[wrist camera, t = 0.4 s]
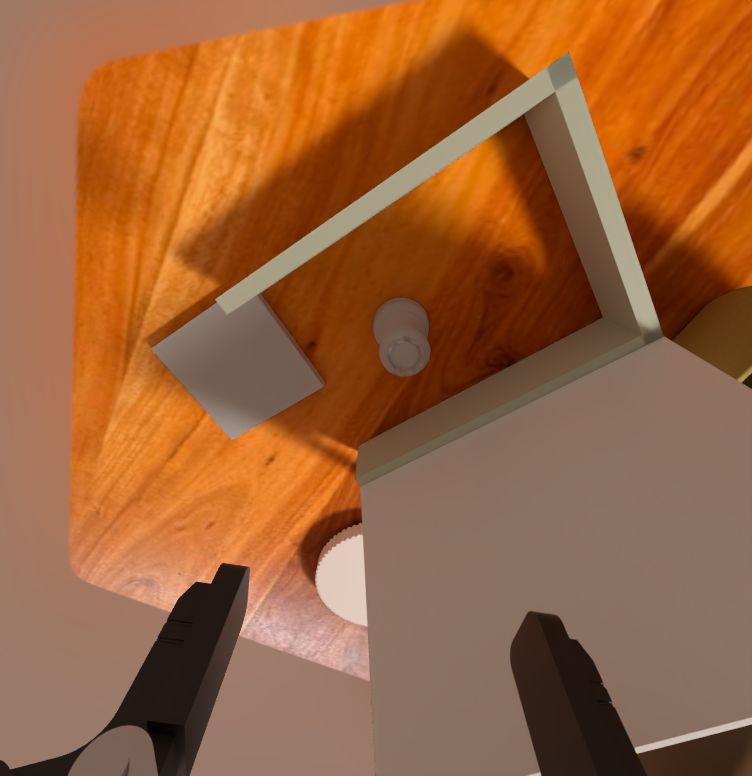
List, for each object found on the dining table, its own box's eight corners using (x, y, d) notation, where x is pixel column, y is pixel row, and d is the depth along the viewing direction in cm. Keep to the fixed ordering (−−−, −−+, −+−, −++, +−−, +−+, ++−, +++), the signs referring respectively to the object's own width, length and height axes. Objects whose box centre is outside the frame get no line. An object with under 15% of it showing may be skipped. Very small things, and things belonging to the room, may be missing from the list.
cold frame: (533, 83, 24) (661, -31, 13) (645, 385, 33) (783, 475, 21) (241, 286, 30) (155, 328, 19) (400, 500, 38) (407, 620, 27)
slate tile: (250, 279, 30) (246, 281, 29) (325, 382, 33) (323, 386, 32) (157, 344, 32) (150, 348, 31) (235, 434, 35) (231, 440, 34)
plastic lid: (321, 507, 39) (317, 525, 37) (458, 519, 39) (463, 538, 37) (316, 601, 45) (313, 622, 42) (436, 611, 45) (439, 633, 43)
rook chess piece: (404, 361, 32) (409, 404, 25) (361, 328, 31) (354, 363, 24) (440, 319, 31) (457, 352, 23) (396, 284, 29) (400, 306, 22)
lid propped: (662, 335, 26) (1149, 544, 9) (678, 382, 27) (1128, 635, 11) (360, 485, 31) (334, 781, 15) (385, 517, 32) (387, 822, 16)
